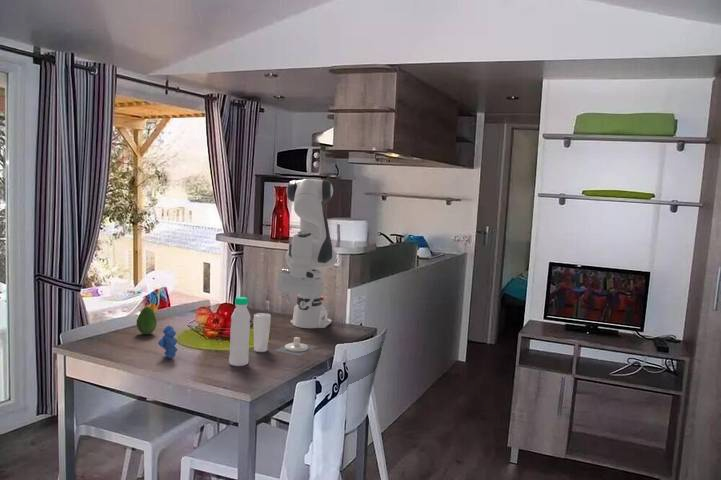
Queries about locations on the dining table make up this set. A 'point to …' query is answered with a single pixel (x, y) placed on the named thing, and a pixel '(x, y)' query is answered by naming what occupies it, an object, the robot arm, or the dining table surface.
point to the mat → (283, 350)
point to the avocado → (146, 321)
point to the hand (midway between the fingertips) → (298, 304)
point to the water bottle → (240, 333)
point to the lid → (296, 346)
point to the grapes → (169, 342)
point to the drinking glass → (261, 331)
